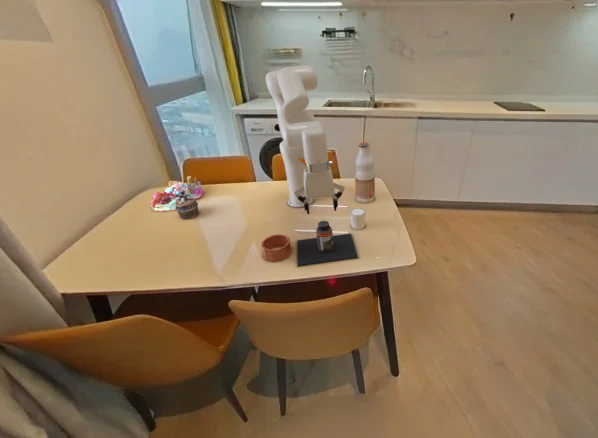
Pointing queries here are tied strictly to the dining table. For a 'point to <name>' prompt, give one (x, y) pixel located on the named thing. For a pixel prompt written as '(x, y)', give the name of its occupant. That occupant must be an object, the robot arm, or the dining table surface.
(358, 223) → the white cup
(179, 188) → the candy platter
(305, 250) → the mat
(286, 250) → the holder
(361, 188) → the fruit juice
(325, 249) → the supplement bottle
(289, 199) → the robot arm
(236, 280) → the dining table surface
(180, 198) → the cupcake
